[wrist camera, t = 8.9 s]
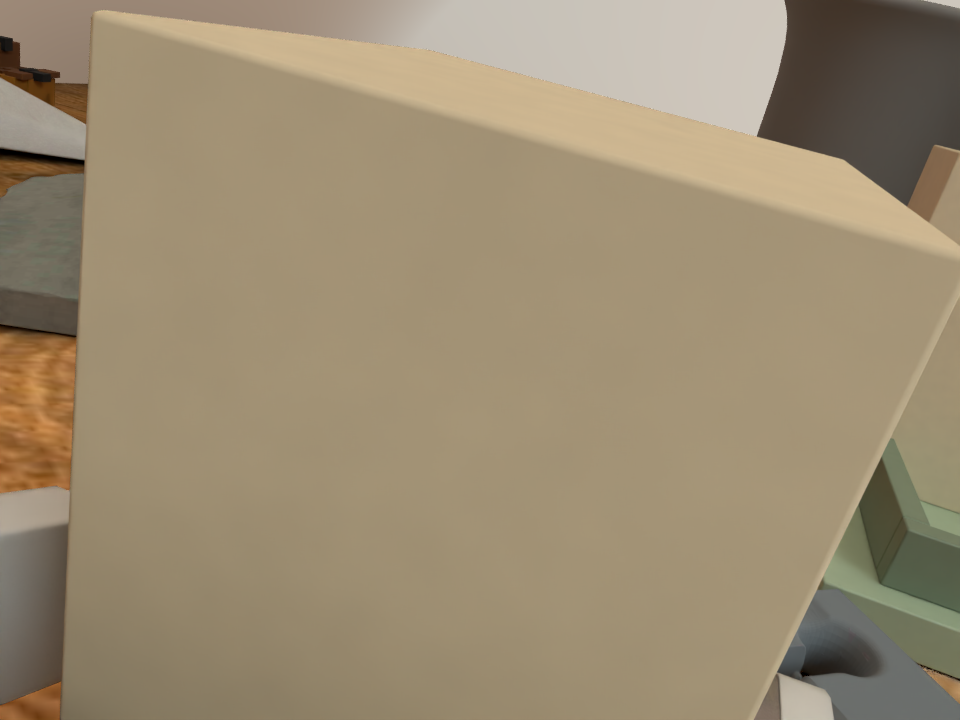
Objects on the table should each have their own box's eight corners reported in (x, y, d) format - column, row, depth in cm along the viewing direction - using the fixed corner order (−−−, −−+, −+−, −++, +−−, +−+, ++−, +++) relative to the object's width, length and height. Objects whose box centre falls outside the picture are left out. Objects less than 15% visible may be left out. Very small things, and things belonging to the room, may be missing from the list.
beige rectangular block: (36, 1181, 9) (86, 6, 4) (278, 810, 13) (426, 49, 9) (414, 1422, 8) (983, 256, 3) (536, 936, 12) (848, 161, 8)
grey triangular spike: (147, 161, 59) (-63, 88, 51) (169, 132, 55) (-53, 48, 48) (135, 233, 57) (-86, 168, 49) (157, 207, 53) (-77, 133, 46)
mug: (712, 366, 43) (908, -168, 34) (626, 278, 57) (751, -123, 47) (999, 412, 48) (1244, -52, 38) (857, 321, 61) (1013, -40, 52)
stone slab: (-109, 355, 28) (197, 345, 31) (-126, 280, 27) (193, 277, 30) (20, 195, 47) (201, 198, 50) (13, 147, 46) (199, 153, 49)
